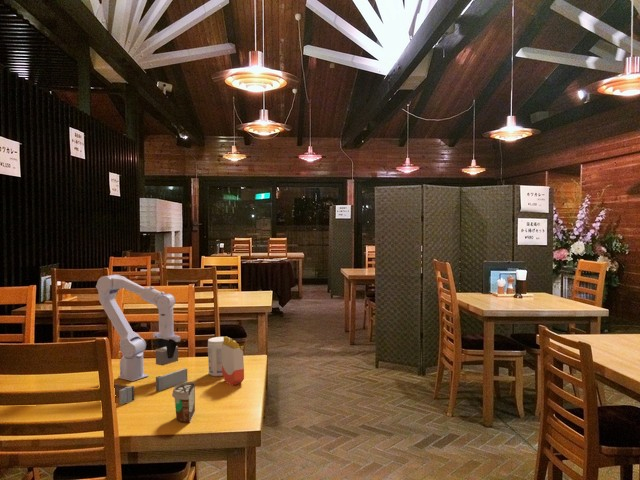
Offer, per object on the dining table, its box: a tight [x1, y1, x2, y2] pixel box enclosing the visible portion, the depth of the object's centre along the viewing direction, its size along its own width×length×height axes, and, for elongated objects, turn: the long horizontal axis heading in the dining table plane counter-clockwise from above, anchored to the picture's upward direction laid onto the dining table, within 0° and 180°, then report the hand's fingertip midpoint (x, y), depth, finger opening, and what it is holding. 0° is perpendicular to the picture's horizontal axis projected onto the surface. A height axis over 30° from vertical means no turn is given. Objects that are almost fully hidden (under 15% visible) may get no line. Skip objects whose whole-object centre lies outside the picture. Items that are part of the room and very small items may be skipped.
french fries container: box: [222, 335, 245, 386], centre depth 190 cm, size 5×11×18 cm, turn 37°
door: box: [113, 382, 135, 402], centre depth 174 cm, size 1×11×5 cm, turn 62°
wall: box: [118, 367, 188, 406], centre depth 180 cm, size 2×30×5 cm, turn 148°
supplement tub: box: [207, 336, 231, 377], centre depth 202 cm, size 10×10×15 cm
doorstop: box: [155, 345, 179, 367], centre depth 196 cm, size 4×8×6 cm, turn 148°
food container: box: [171, 380, 196, 424], centre depth 155 cm, size 12×6×10 cm, turn 5°
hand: (166, 357), depth 196 cm, fingers closed on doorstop, 4 cm apart
